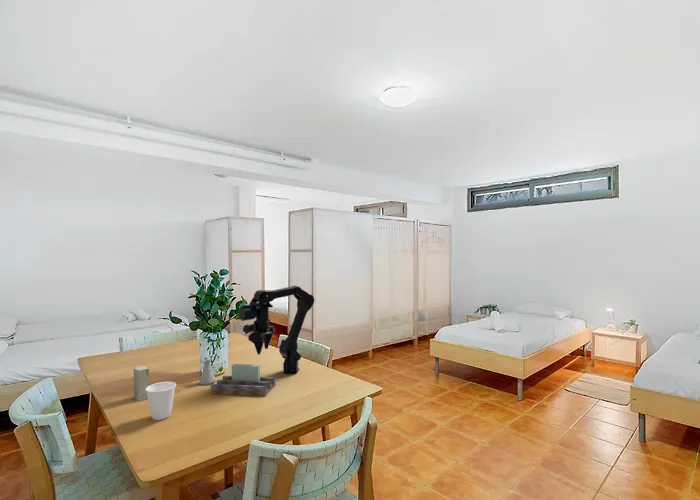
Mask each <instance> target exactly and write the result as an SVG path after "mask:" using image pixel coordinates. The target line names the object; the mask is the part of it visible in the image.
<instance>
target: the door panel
mask: <svg viewBox="0 0 700 500" xmlns="http://www.w3.org/2000/svg"><path fill="white" fill-rule="evenodd" d="M231 376H232V380H242V381H260V377H261V364H252V363H251V364H248V363H247V364H245V363H234V364H232V365H231Z"/></svg>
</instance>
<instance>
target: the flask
mask: <svg viewBox="0 0 700 500" xmlns="http://www.w3.org/2000/svg"><path fill="white" fill-rule="evenodd" d="M211 362H212V359H204V360H203V369H202V373H201V376H200V377H199V381H198V385H202V386H205V385H206V386H207V385H211V384H215V382H217V379H216V376H215V374H214V372H213V369H212V366H211Z"/></svg>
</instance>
